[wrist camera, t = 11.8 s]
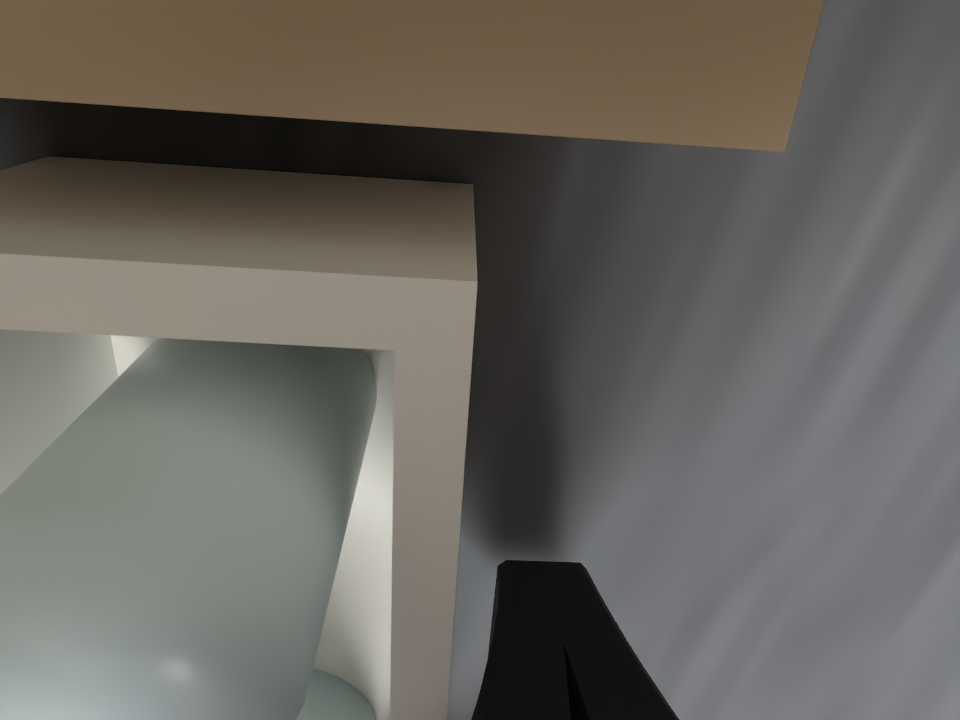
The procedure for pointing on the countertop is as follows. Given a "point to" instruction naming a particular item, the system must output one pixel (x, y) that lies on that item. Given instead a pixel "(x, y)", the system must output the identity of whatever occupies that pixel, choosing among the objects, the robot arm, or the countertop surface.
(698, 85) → the light wooden angled piece
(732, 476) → the countertop surface
